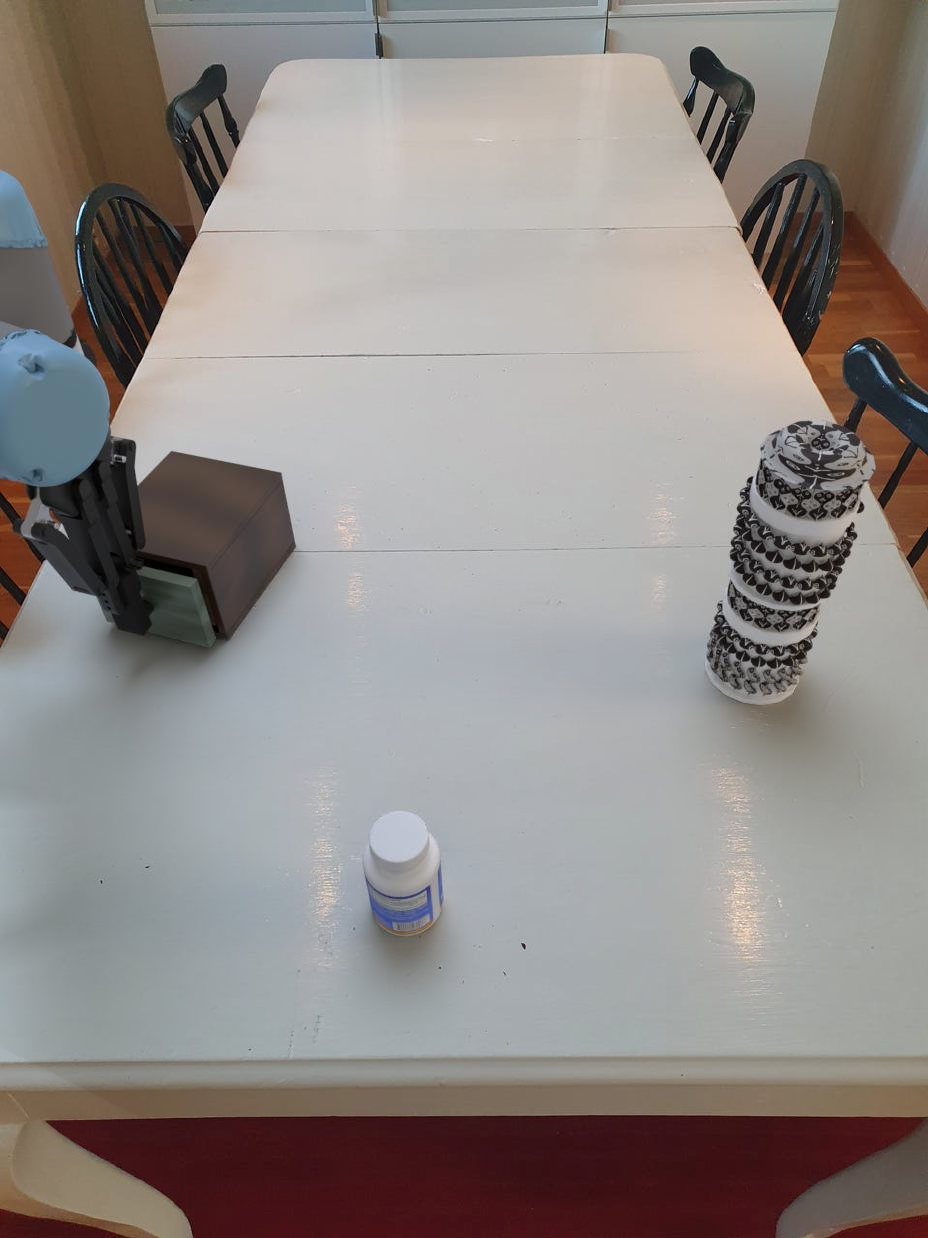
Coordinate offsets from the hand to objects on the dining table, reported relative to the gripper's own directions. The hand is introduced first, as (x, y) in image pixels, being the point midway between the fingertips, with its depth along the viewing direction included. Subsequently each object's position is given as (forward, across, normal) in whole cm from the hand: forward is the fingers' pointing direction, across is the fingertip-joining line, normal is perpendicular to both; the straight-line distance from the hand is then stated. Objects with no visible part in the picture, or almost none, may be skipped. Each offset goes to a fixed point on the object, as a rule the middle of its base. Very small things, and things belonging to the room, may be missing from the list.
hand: (135, 626), depth 83 cm
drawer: (+3, +8, 0) cm, 9 cm away
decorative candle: (+4, +16, -54) cm, 56 cm away
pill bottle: (+4, -16, -33) cm, 36 cm away
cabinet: (+4, +12, 0) cm, 12 cm away
